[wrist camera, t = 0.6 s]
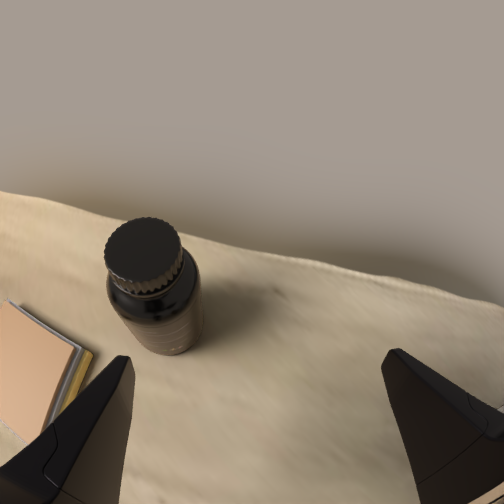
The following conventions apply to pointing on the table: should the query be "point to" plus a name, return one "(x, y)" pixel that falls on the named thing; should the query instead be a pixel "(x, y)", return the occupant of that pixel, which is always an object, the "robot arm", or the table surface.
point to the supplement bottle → (154, 285)
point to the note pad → (35, 372)
